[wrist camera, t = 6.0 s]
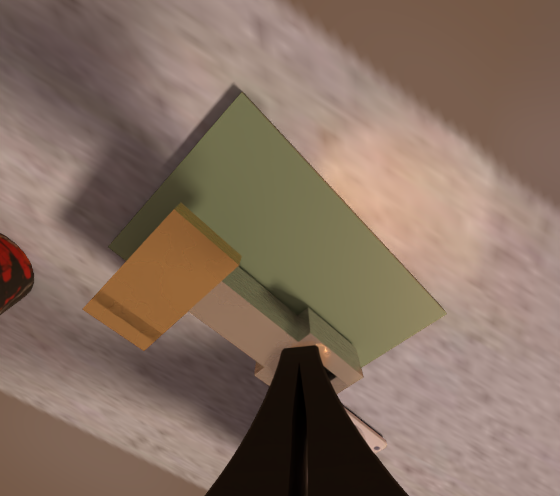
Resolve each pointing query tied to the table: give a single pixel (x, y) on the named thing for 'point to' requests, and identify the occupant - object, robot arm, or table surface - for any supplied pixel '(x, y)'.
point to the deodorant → (13, 274)
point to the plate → (290, 232)
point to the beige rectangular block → (274, 329)
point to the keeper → (164, 278)
